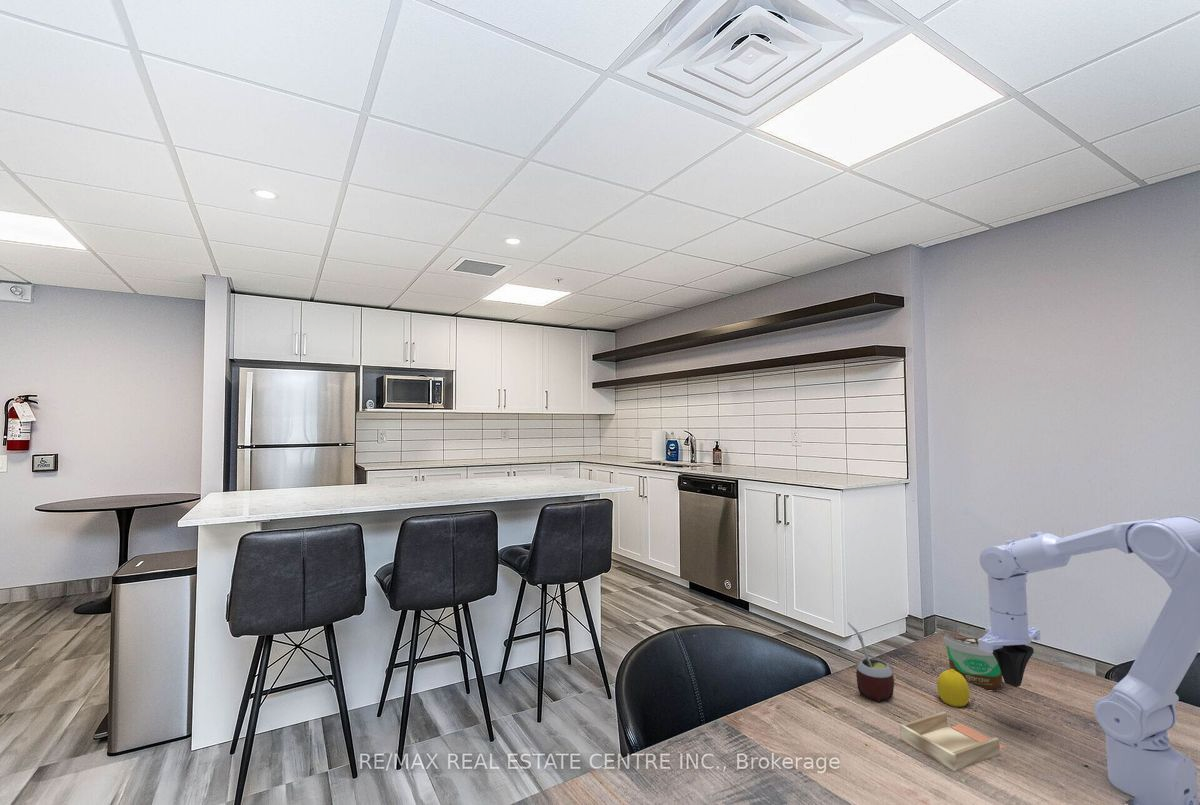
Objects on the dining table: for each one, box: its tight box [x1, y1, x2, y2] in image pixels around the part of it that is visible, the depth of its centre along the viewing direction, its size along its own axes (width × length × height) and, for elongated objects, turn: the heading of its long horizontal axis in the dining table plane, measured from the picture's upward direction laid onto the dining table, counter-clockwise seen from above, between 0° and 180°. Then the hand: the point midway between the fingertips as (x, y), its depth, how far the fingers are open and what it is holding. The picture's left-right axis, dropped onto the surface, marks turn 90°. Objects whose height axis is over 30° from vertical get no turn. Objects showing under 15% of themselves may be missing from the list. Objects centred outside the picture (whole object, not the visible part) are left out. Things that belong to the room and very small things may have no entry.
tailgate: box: [950, 723, 1006, 749], centre depth 100 cm, size 1×8×6 cm
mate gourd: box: [847, 622, 895, 703], centre depth 116 cm, size 8×8×15 cm
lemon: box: [936, 668, 971, 708], centre depth 111 cm, size 6×6×8 cm
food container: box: [942, 633, 1003, 691], centre depth 120 cm, size 12×6×10 cm, turn 73°
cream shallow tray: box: [899, 710, 1001, 772], centre depth 96 cm, size 10×11×4 cm
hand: (1012, 684), depth 102 cm, fingers closed
